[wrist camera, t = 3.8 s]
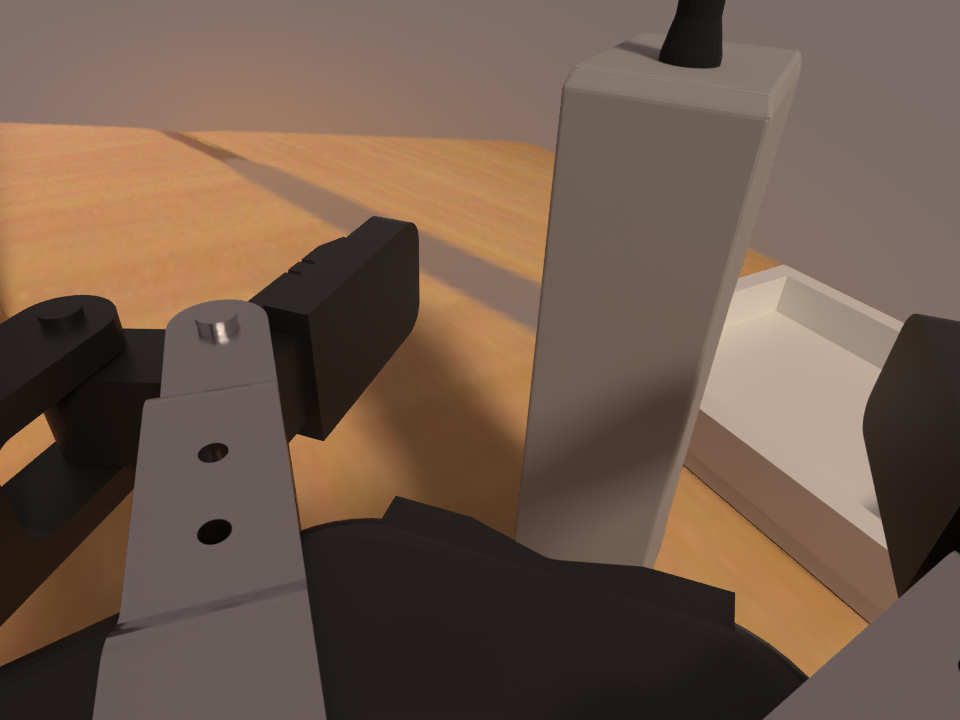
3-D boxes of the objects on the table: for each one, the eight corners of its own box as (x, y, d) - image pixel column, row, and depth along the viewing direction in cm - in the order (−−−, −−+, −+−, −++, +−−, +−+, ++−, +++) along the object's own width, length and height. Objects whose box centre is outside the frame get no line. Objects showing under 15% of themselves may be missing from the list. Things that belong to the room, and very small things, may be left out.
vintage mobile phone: (658, 554, 24) (987, -561, 10) (616, 669, 20) (1045, -852, 6) (561, 515, 25) (727, -516, 11) (505, 617, 22) (646, -733, 7)
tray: (880, 631, 22) (917, 572, 20) (579, 375, 33) (587, 323, 31) (1078, 484, 28) (1120, 429, 26) (768, 310, 39) (784, 264, 37)
